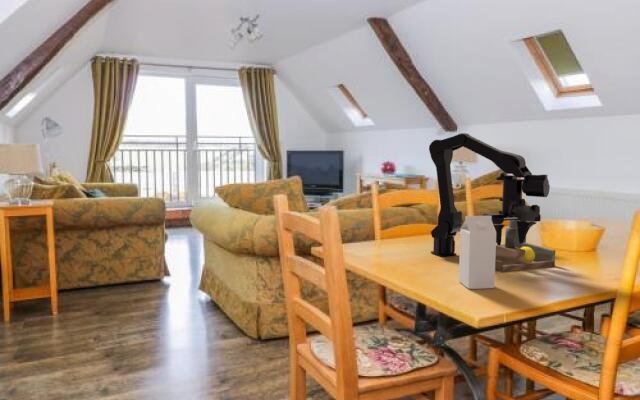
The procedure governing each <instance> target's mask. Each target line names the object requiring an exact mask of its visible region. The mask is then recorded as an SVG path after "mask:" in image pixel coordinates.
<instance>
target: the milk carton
mask: <svg viewBox="0 0 640 400" xmlns="http://www.w3.org/2000/svg"><path fill="white" fill-rule="evenodd" d="M491 217H492V216H482V215H466V216H465V220H464V221H463V223H462V226H461V228H460V229H459V231H460V234H459V264H458V265H459V267H458V268H459V269H458V272H459V273H458V283H460V284H461V285H463V286H464V287H466V288H467V289H469V290H474V289H475V290H476V289H477V290H479V289H482V290H483V289H495V281H496V280H495V279H496V270H495V257H496V245H497V243H496V230H495V228H494V225H493V223H492V220H491Z"/></svg>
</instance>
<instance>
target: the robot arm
mask: <svg viewBox="0 0 640 400" xmlns="http://www.w3.org/2000/svg"><path fill="white" fill-rule="evenodd" d="M462 147H463V148H465V149H468V150H470V151H471V152H474V153H475V154H477V155H479V156H480V157H484V158H485V159H487V160H489V161H491V162H492V163H493V164H494V165H495V166H496V167H497V168H499V169H500V170H501V171H503V172H501V173H500V174H499V176H498V177H496V178H495V179H496V181H502V194H501V195H502V196H501V197H499V202H502V203H501V210H498V213H497V212H483V213H482V215H481V216H492V217H491V220H492V223H493V225H494V228H495V230H496V245H499V246H500V245H502V237H503V236H502V235H503V234H502V232H503V229H504V227H505V226H506V224H504V222H505V221H510V220H517V228H518V238H519V243H521V244H522V243H523V242H524V239H525V237H526V238H527V234H528V232H529V231H530V228H532V227H533V226H534V225H537V222H541V220H542V219H541V213H540V212H541V210H540V209H541V207H540V205H538V204H532V205H526V199H525V198H523V194H525V196H526V197H533V198H534V197H536V198H547V197H548V196H549V193H550V181H549V179H548V174H532V172H531V171H530V169H529V168H528V167H527V165H526V163H527V162H526V159H525V157H524V156H522V155H520V154H516V153H513V152H508V151H504V150H502V149H498V148H496V147H495V146H492V145H490V144H488V143H486V142H484V141H482V140H481V139H480V140H479V139H477V138H476V137H474V136H472V135H470V134H469V133H465V132H464V133H463V132H462V133H458V134H456V135H454V136H450V137H446V138H444V139H434V140H432V141H431V143H430V144H429V147H428V151H429V155H430V158H431V160H432V162H433V164H434V166H435V170H436V177H437V186H438V187H437V188H438V195H439V196H438V197H439V204H440V205H439V206H440V208H439V213H438V216H437V225H436V226H435V227H434V228H433V229H432V230H431V231H430V234H431V235H430V236H431V237H432V238H433V250H432V251H430V253H431V254H433V255H436V256H439V257H449V256H457V253H456V252H455V251H456V249H455V248H456V241H455V236H456V235H457V232H458V231H460V229H461V227H462V225H463V223H464V221H463V218H462V217H463V212H462V210H458V209H457V207H456V206H455V198H454V197H455V196H454V195H455V194H454V190H453V179H452V178H453V177H452V170H451V163H452V160H453V156H454V152H455V151H456V150H459V149H461V148H462Z"/></svg>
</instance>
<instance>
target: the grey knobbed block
mask: <svg viewBox="0 0 640 400" xmlns="http://www.w3.org/2000/svg"><path fill="white" fill-rule="evenodd" d="M515 237H516V229H515V228H509V227H506V228H505V239H504V244H501V245H500V246H499V245H497V244H496V257H495V259H496V260H499V261H503V265H510V264H519V263H525V250H524V249H521V248H517V247H515Z"/></svg>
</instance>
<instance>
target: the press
mask: <svg viewBox="0 0 640 400" xmlns="http://www.w3.org/2000/svg"><path fill="white" fill-rule="evenodd" d="M522 247H530V248H532V250H533V251H534V252H535V259H534V260H533V261H532V262H529V263H519V264H510V265H505V264H503V261H499V260H496V259H495V271H496V270H497V272H499V271H500V272H499V273H502V272H501V271H503V272H511V270H513V271H519V270H520V269H522V270H527V269H528V270H530V268H531V269H539V268H546V267H547V268H548V267H555V266H556V265H555V264H556V249H552V248H548V247H544V246H540V245H535V244H531V243H528V242H526V243H522ZM522 247H521V248H522Z"/></svg>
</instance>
